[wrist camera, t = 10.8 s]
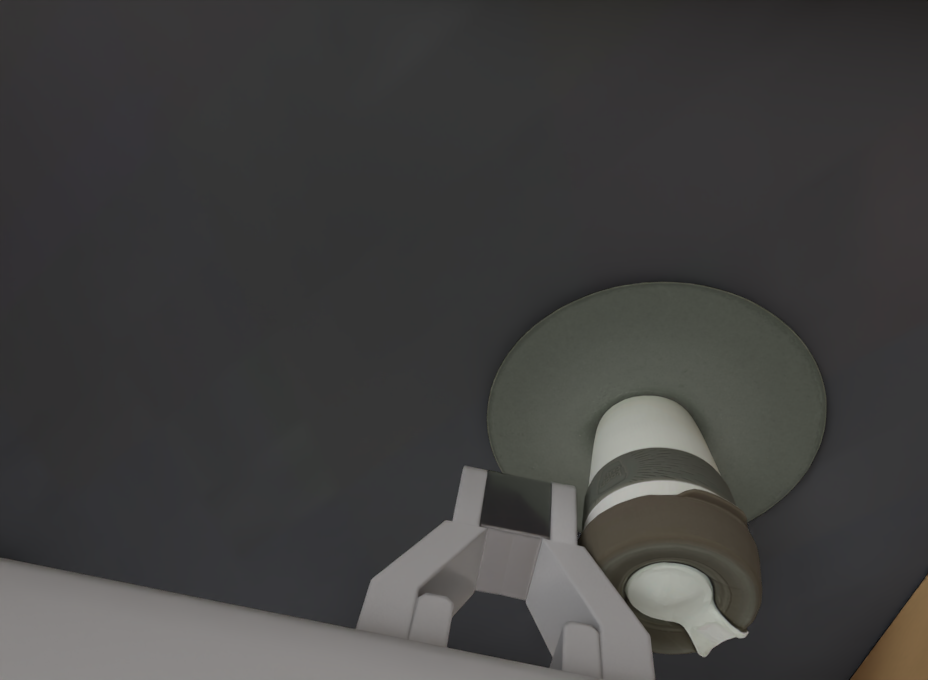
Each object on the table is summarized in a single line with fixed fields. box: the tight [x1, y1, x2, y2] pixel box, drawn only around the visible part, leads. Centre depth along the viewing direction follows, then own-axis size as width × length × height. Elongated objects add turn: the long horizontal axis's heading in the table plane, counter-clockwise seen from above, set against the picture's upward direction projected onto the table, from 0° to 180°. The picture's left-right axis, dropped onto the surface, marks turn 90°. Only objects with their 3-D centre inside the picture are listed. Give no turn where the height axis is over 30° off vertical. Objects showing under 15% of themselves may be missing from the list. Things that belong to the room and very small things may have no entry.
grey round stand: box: [487, 282, 826, 657], centre depth 14 cm, size 12×12×5 cm
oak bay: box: [850, 574, 928, 680], centre depth 15 cm, size 24×17×2 cm
